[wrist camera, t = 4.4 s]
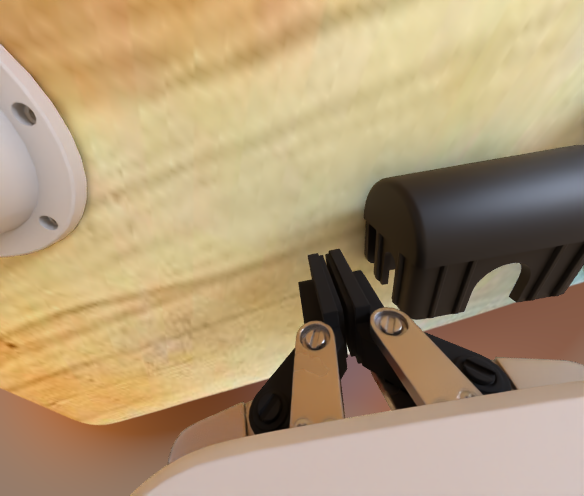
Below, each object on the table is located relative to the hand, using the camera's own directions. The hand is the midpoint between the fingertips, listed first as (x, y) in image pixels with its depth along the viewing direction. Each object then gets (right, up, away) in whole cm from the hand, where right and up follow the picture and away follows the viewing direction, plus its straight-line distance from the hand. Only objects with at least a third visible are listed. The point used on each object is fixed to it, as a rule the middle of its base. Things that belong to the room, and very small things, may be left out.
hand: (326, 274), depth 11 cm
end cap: (+8, +4, +4) cm, 10 cm away
